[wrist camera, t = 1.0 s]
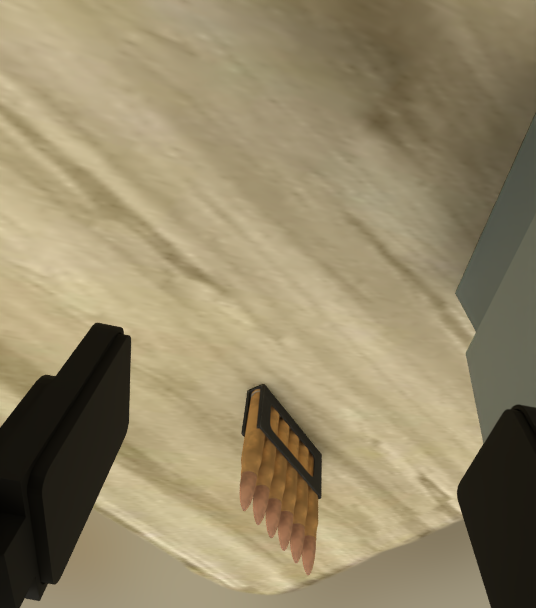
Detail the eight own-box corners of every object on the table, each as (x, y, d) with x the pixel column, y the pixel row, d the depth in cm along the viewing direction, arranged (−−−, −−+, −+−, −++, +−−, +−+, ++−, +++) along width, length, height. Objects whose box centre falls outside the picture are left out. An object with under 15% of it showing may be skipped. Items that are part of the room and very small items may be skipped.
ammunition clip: (246, 390, 42) (225, 506, 32) (263, 382, 42) (247, 499, 31) (305, 461, 47) (304, 583, 36) (322, 455, 46) (324, 578, 36)
